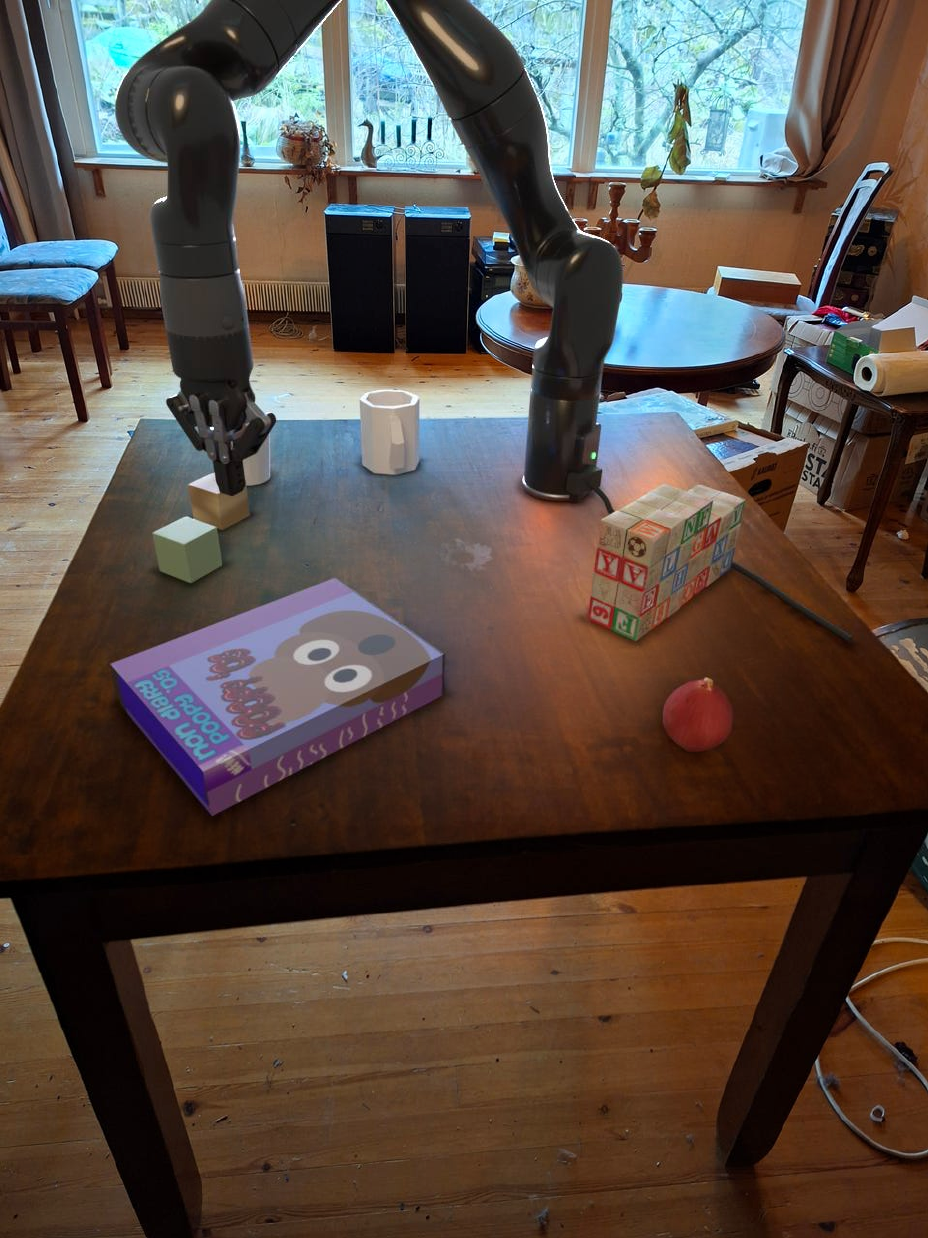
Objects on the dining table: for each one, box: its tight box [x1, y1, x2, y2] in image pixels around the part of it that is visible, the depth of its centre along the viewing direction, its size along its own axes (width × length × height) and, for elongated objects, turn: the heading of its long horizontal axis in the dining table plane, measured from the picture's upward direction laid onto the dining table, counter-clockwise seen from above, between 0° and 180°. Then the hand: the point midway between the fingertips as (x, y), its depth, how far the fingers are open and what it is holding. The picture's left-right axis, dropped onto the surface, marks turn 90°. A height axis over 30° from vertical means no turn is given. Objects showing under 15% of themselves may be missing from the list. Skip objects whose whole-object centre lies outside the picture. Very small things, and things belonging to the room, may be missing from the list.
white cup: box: [232, 432, 271, 487], centre depth 116 cm, size 7×7×7 cm
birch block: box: [187, 472, 251, 531], centre depth 106 cm, size 5×5×5 cm
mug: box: [359, 389, 420, 476], centre depth 119 cm, size 12×9×10 cm
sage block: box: [151, 516, 223, 584], centre depth 95 cm, size 5×5×5 cm
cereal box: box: [109, 577, 445, 817], centre depth 76 cm, size 17×5×24 cm
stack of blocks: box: [587, 483, 747, 642], centre depth 92 cm, size 21×6×12 cm, turn 138°
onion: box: [662, 677, 734, 753], centre depth 71 cm, size 6×6×8 cm
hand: (232, 491), depth 87 cm, fingers closed
